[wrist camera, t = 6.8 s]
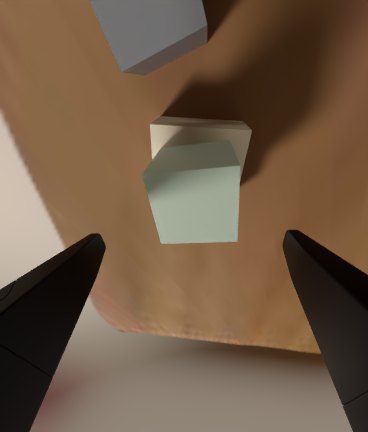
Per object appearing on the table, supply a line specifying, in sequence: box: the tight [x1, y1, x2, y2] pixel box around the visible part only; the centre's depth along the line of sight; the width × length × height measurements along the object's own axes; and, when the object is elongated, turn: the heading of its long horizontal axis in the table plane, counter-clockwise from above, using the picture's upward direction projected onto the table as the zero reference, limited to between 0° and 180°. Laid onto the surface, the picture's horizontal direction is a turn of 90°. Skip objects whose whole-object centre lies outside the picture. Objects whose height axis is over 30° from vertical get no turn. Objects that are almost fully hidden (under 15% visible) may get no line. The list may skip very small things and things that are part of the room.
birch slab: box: [150, 116, 252, 179], centre depth 16 cm, size 7×7×4 cm
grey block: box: [89, 0, 207, 75], centre depth 10 cm, size 5×5×5 cm
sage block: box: [142, 140, 240, 244], centre depth 13 cm, size 5×5×5 cm
